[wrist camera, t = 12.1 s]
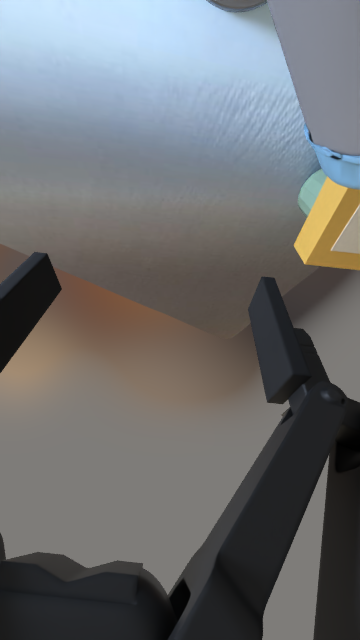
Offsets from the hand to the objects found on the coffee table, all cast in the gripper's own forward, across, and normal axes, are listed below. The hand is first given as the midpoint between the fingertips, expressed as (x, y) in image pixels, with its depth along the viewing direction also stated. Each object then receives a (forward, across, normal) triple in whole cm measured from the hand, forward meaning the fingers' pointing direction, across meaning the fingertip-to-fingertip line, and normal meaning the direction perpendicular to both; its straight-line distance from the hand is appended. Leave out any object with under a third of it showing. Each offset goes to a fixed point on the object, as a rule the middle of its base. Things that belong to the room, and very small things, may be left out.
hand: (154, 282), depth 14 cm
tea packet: (+19, +21, 0) cm, 29 cm away
